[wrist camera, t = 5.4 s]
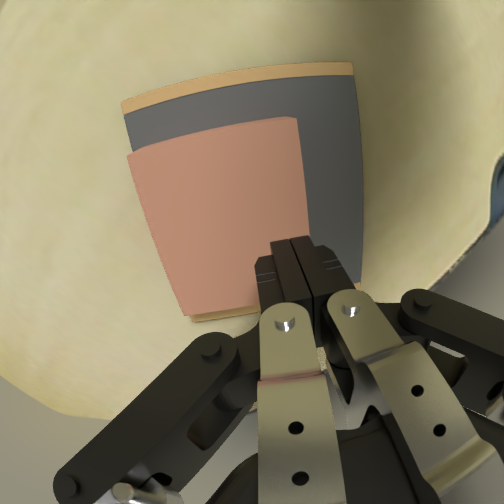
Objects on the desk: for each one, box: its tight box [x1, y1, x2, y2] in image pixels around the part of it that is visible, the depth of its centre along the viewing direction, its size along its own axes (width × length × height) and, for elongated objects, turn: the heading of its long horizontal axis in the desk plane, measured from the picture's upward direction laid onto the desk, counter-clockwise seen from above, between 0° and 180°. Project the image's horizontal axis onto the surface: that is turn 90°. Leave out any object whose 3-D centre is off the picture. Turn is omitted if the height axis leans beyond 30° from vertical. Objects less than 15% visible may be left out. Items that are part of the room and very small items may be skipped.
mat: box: [121, 62, 363, 322], centre depth 16 cm, size 16×13×1 cm
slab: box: [127, 116, 310, 316], centre depth 15 cm, size 10×3×8 cm
